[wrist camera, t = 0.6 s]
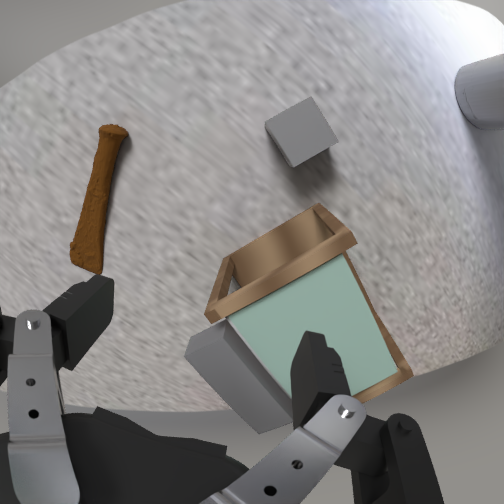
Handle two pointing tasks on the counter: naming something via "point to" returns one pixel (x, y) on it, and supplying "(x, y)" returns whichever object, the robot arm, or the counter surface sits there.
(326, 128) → the stone
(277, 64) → the counter surface
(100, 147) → the primitive tool
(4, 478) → the robot arm
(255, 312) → the trapdoor
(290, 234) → the wooden box frame
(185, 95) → the counter surface
